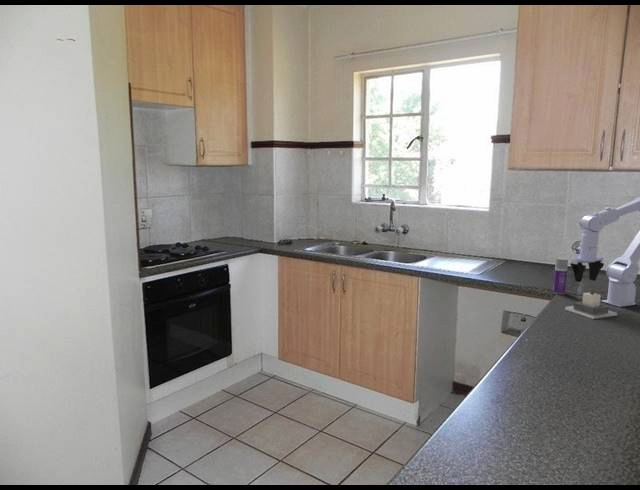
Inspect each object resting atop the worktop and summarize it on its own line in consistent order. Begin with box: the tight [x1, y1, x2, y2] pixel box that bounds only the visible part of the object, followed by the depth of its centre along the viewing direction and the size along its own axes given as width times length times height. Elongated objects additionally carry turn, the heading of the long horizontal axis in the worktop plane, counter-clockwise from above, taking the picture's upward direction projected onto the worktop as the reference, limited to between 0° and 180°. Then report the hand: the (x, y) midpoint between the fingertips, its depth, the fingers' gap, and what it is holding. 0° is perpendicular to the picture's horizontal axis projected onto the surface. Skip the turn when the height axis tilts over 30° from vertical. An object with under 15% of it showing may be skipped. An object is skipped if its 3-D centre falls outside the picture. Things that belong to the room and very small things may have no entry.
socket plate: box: [564, 301, 618, 320], centre depth 175 cm, size 12×12×3 cm
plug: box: [581, 290, 601, 308], centre depth 174 cm, size 4×4×7 cm
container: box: [552, 257, 569, 295], centre depth 201 cm, size 5×5×15 cm
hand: (585, 280), depth 184 cm, fingers open, 7 cm apart
